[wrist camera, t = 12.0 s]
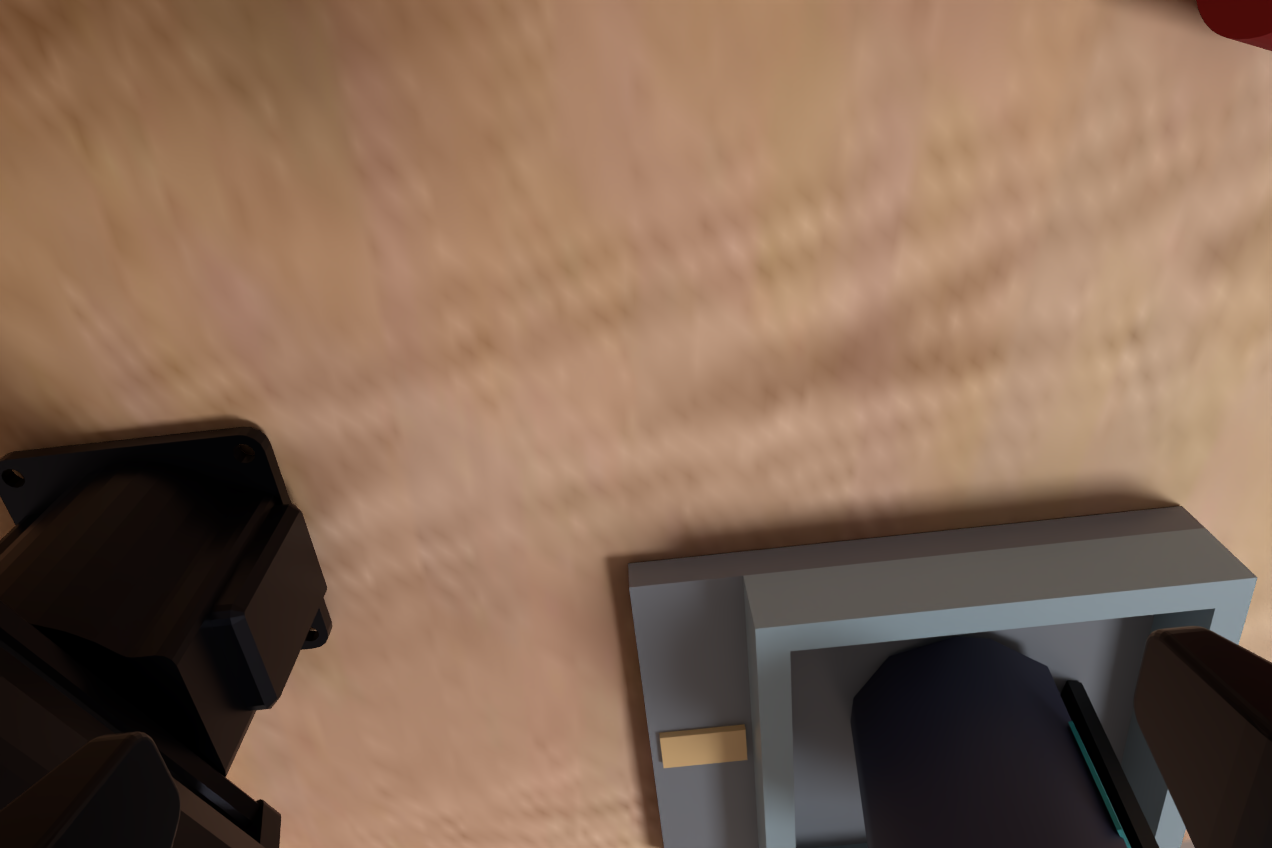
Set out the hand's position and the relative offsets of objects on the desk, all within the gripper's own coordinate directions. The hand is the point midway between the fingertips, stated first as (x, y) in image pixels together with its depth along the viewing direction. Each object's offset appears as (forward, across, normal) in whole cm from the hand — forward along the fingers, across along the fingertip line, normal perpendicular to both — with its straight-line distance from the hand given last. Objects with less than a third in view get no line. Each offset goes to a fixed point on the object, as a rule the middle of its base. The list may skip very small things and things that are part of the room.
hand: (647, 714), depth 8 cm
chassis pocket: (+13, -7, +14) cm, 20 cm away
